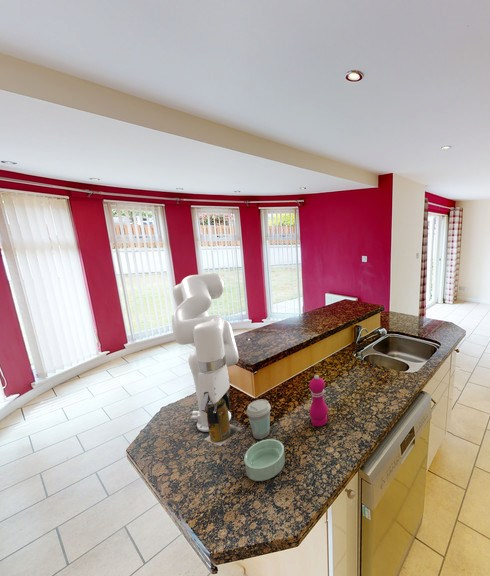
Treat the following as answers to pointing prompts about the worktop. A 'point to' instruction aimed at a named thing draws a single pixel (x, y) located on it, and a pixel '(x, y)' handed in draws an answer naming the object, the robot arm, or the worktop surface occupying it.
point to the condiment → (221, 426)
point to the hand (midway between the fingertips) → (219, 415)
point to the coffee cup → (259, 418)
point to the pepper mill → (318, 402)
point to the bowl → (264, 459)
